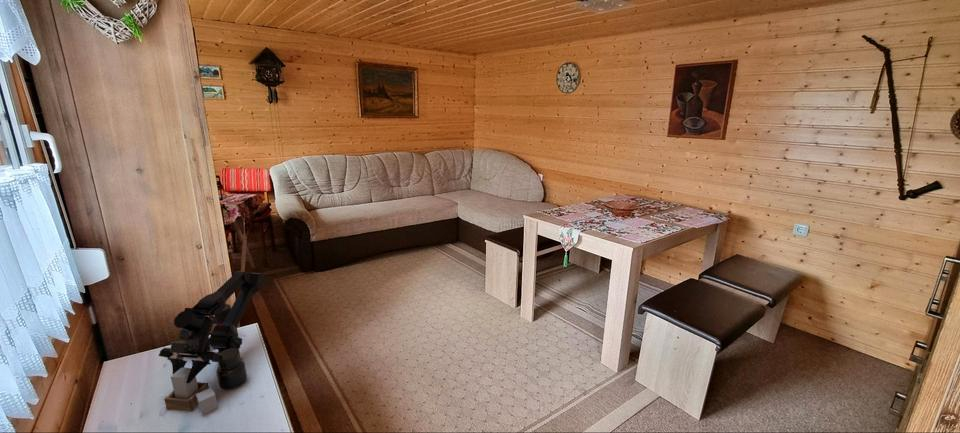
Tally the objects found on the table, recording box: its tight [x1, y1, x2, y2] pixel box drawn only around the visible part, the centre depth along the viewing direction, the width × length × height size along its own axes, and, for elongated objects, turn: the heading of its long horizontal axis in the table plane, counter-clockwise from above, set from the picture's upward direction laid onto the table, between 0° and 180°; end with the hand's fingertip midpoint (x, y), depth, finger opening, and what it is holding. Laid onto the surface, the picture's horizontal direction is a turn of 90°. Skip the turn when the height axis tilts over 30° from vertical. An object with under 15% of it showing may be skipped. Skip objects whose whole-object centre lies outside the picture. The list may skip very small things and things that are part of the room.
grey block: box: [196, 387, 219, 416], centre depth 134 cm, size 4×4×6 cm
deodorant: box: [214, 303, 232, 326], centre depth 168 cm, size 6×6×15 cm
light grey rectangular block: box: [170, 367, 199, 399], centre depth 135 cm, size 4×4×10 cm
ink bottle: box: [215, 348, 248, 391], centre depth 144 cm, size 10×9×12 cm
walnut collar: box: [163, 381, 210, 412], centre depth 137 cm, size 9×9×4 cm
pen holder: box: [178, 329, 211, 355], centre depth 161 cm, size 9×9×10 cm
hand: (180, 382), depth 133 cm, fingers closed on light grey rectangular block, 4 cm apart
